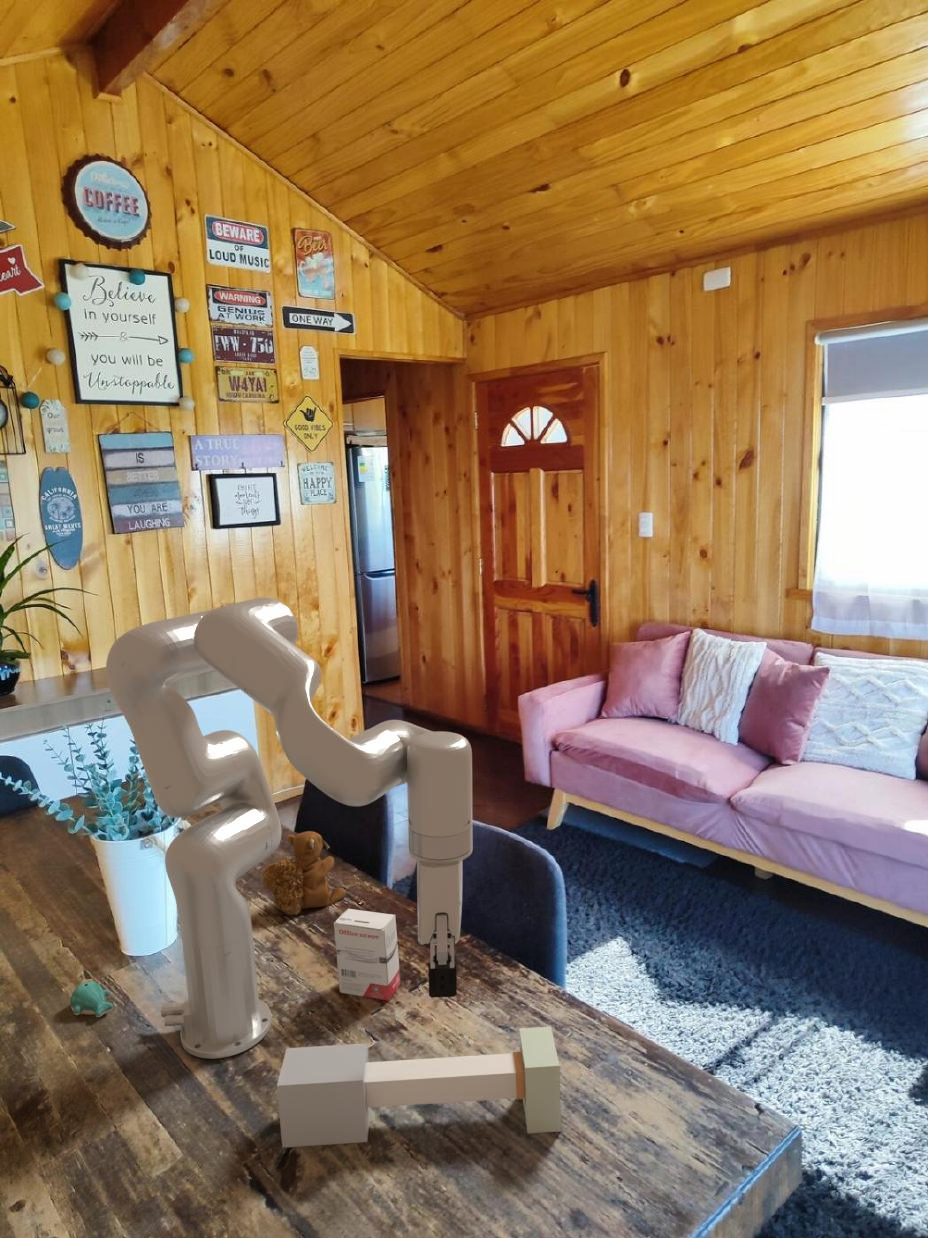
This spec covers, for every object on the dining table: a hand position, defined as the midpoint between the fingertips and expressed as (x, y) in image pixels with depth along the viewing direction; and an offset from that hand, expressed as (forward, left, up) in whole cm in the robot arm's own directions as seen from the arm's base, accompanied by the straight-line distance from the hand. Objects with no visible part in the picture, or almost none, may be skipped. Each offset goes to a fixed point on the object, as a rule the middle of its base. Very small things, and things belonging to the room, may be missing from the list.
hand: (442, 970), depth 99 cm
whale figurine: (-54, +24, -19) cm, 62 cm away
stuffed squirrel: (-26, +53, -19) cm, 62 cm away
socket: (+11, -2, -18) cm, 22 cm away
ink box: (-12, +25, -19) cm, 33 cm away
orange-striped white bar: (0, -2, -15) cm, 15 cm away
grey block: (-15, -2, -18) cm, 24 cm away
